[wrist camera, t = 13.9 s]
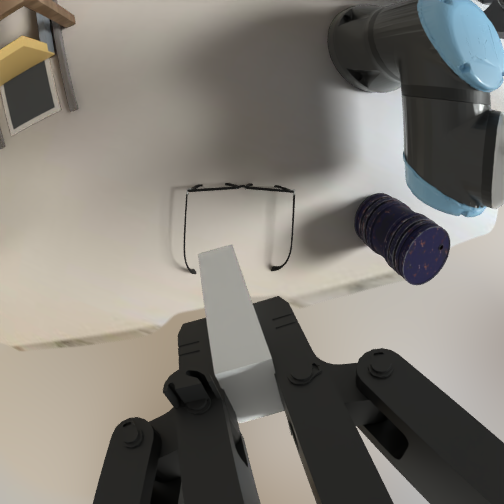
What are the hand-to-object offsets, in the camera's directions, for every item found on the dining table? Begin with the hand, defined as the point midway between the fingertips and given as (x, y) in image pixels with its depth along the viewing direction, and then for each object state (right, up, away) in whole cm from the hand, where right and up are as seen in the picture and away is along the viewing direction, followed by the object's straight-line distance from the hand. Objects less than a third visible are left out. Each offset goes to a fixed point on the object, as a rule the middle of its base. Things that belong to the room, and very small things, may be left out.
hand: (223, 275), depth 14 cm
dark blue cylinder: (+24, +7, +39) cm, 47 cm away
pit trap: (-31, +25, +17) cm, 43 cm away
